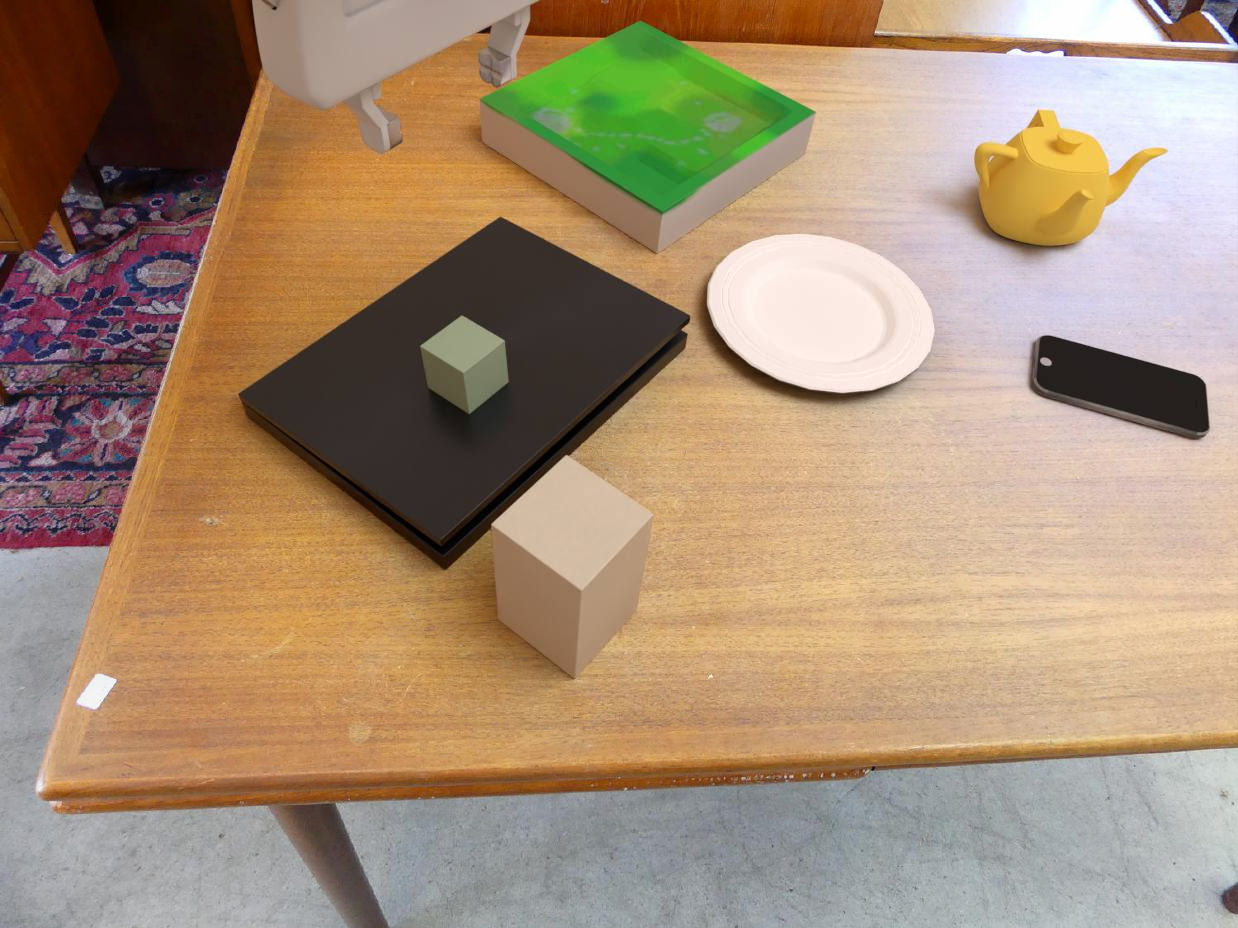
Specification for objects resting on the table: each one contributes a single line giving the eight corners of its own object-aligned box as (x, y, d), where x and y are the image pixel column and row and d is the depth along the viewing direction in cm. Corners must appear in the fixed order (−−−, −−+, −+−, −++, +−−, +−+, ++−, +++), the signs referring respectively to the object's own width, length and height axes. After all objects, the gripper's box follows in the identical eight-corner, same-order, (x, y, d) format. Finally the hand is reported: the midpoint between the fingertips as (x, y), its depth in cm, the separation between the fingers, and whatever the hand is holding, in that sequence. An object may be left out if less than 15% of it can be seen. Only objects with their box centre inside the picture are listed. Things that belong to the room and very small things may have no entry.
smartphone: (1038, 330, 85) (1206, 376, 83) (1035, 336, 85) (1202, 381, 83) (1033, 387, 80) (1211, 437, 78) (1029, 393, 81) (1206, 443, 79)
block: (469, 414, 70) (463, 373, 67) (427, 387, 72) (419, 345, 69) (508, 382, 73) (505, 340, 69) (467, 357, 74) (461, 315, 71)
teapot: (1047, 279, 91) (1095, 195, 83) (940, 209, 97) (976, 124, 89) (1120, 228, 97) (1172, 145, 89) (1015, 165, 102) (1055, 82, 95)
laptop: (685, 348, 81) (688, 332, 80) (445, 570, 66) (443, 556, 64) (501, 239, 89) (501, 223, 87) (246, 416, 73) (240, 400, 72)
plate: (659, 289, 86) (662, 274, 84) (827, 224, 94) (832, 208, 92) (800, 440, 76) (805, 425, 74) (975, 353, 84) (983, 338, 82)
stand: (574, 679, 62) (581, 590, 52) (497, 619, 64) (490, 523, 54) (637, 608, 65) (654, 513, 56) (562, 554, 67) (566, 454, 58)
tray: (637, 62, 110) (640, 21, 106) (805, 153, 101) (816, 111, 97) (482, 141, 98) (479, 98, 94) (657, 254, 89) (662, 211, 85)
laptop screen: (689, 323, 79) (690, 315, 78) (441, 547, 64) (440, 540, 63) (501, 224, 87) (500, 216, 87) (240, 401, 72) (237, 393, 71)
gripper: (285, -70, 36) (344, 216, 47) (605, -190, 47) (593, 67, 58) (185, -119, 38) (263, 165, 49) (513, -224, 49) (518, 30, 60)
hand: (443, 111), depth 54 cm, fingers open, 8 cm apart
